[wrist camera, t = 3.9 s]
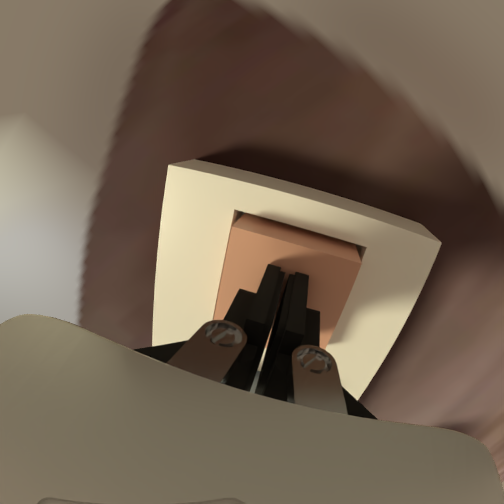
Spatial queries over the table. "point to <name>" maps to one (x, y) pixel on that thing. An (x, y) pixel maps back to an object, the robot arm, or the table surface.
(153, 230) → the table surface
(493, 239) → the table surface
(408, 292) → the board
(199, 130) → the table surface
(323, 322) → the key terracotta
